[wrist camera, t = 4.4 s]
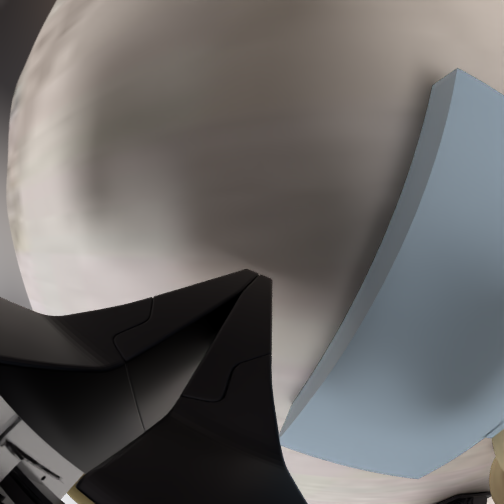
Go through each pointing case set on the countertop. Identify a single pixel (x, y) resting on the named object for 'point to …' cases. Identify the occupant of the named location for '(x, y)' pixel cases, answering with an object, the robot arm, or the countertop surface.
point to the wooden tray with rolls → (496, 482)
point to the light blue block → (423, 310)
